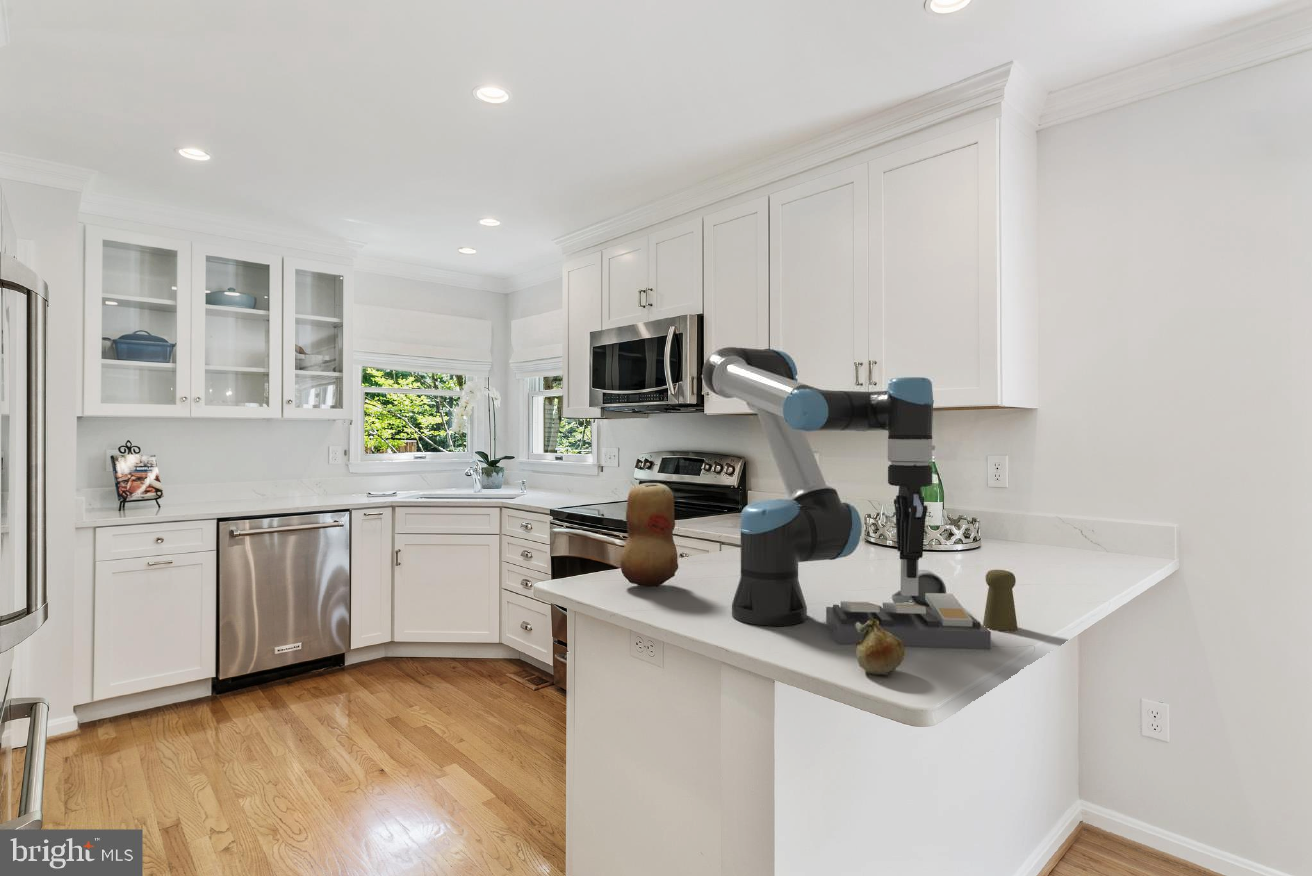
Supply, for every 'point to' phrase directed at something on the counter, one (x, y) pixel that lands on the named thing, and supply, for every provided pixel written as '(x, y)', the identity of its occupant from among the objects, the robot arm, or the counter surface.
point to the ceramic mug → (923, 589)
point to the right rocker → (948, 609)
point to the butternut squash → (649, 536)
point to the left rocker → (859, 606)
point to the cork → (1000, 601)
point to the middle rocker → (904, 608)
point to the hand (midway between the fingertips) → (909, 594)
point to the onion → (878, 649)
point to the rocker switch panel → (908, 628)
